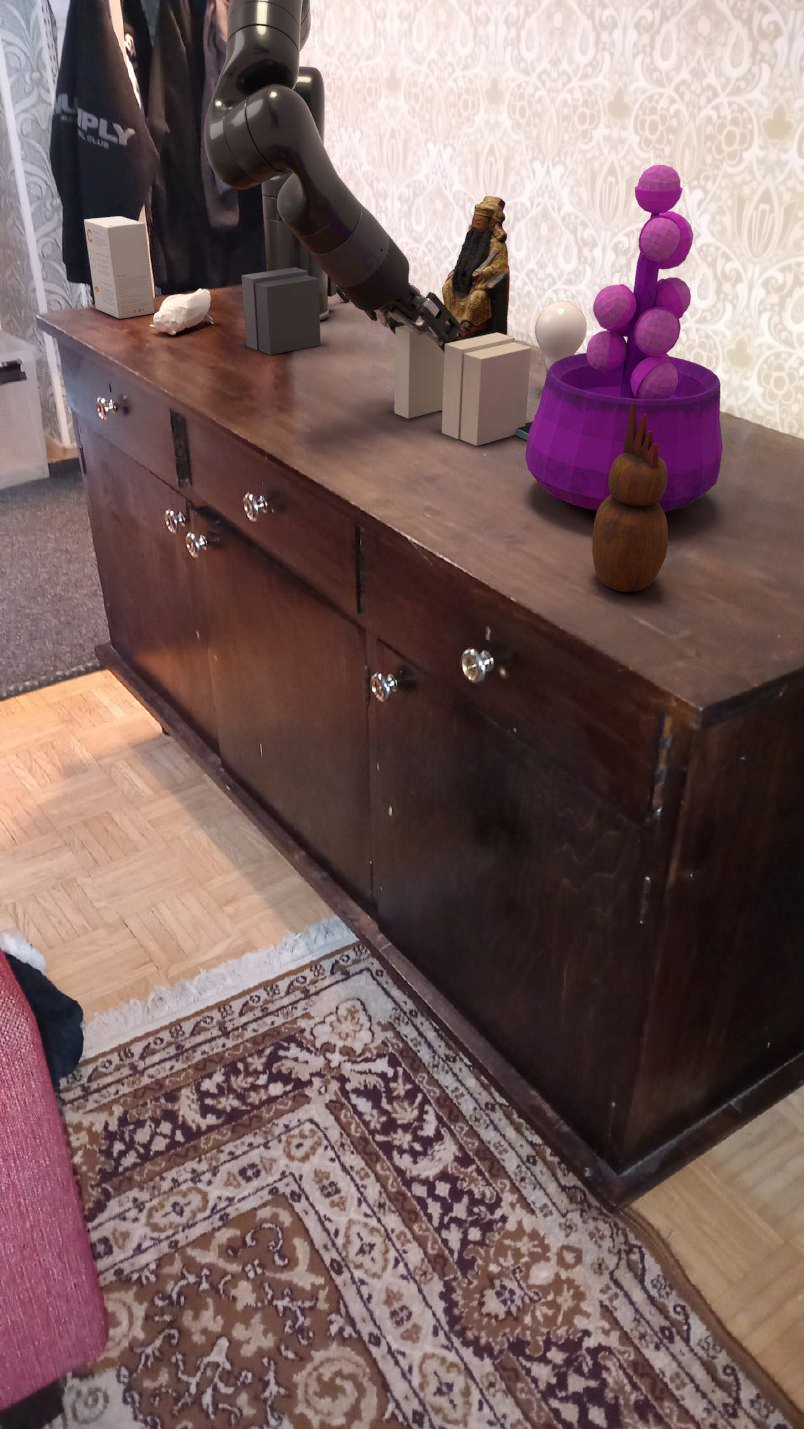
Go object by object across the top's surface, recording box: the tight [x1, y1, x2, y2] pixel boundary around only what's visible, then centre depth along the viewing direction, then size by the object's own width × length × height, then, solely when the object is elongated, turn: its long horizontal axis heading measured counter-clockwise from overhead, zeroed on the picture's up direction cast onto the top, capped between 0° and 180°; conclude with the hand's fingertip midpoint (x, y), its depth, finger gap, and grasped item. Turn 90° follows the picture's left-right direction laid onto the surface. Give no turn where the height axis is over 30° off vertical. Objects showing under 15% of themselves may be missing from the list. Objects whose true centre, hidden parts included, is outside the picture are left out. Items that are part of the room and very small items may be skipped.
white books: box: [441, 333, 532, 447], centre depth 120 cm, size 6×8×10 cm
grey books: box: [241, 267, 322, 356], centre depth 149 cm, size 6×9×10 cm, turn 130°
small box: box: [83, 215, 156, 320], centre depth 163 cm, size 8×6×13 cm
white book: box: [394, 321, 458, 419], centre depth 126 cm, size 3×8×10 cm, turn 130°
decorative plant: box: [524, 164, 724, 513], centre depth 98 cm, size 19×18×30 cm
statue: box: [441, 195, 511, 340], centre depth 143 cm, size 12×8×20 cm, turn 29°
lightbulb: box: [534, 300, 588, 377], centre depth 133 cm, size 6×6×11 cm
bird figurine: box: [149, 288, 214, 336], centre depth 157 cm, size 5×7×10 cm
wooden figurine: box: [591, 402, 669, 593], centre depth 87 cm, size 7×6×15 cm
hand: (435, 347), depth 126 cm, fingers open, 8 cm apart
